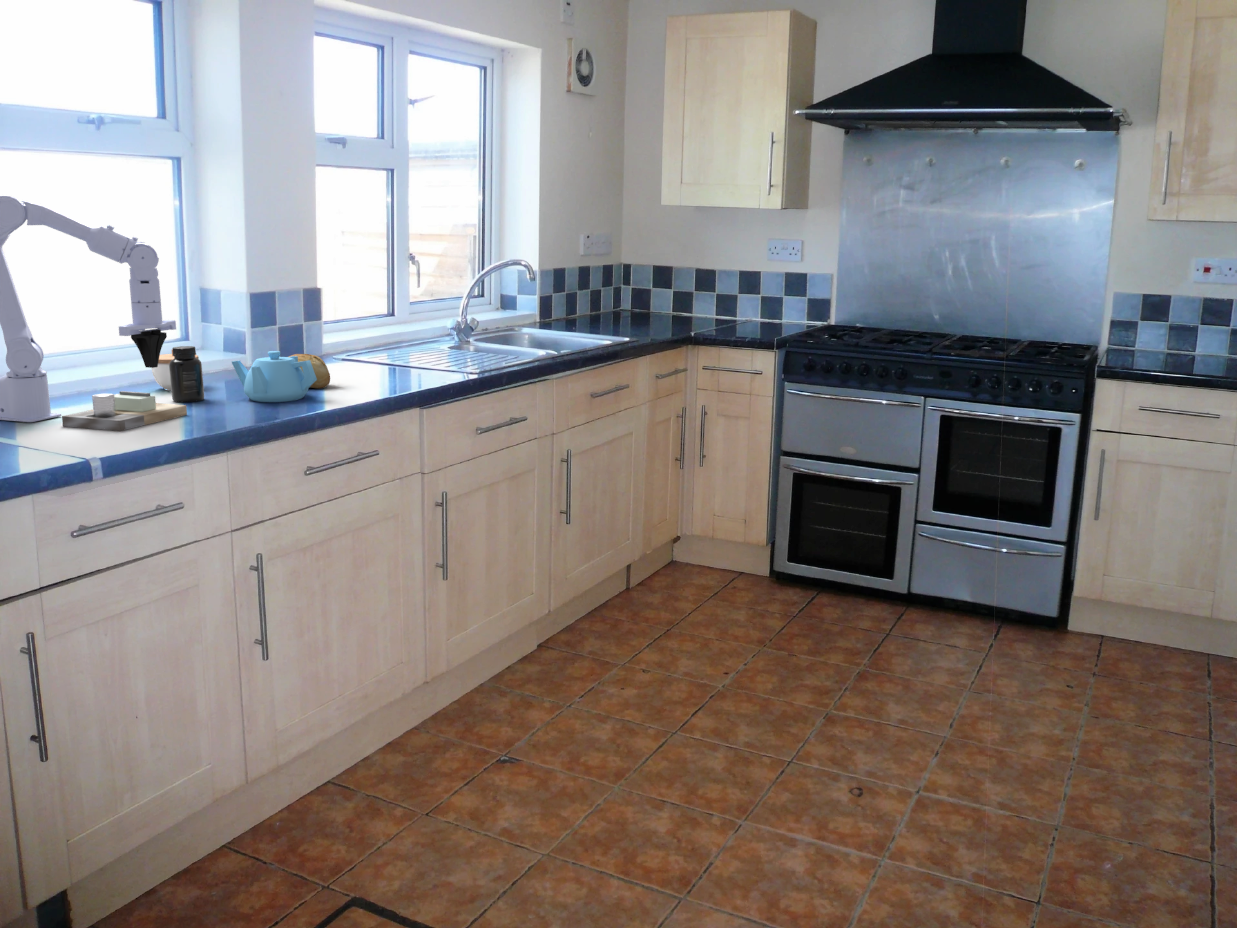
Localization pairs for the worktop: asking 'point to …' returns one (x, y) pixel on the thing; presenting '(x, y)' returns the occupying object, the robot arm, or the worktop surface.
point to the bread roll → (316, 370)
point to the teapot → (276, 378)
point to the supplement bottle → (186, 375)
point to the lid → (134, 401)
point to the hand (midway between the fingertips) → (151, 367)
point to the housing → (124, 418)
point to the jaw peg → (104, 405)
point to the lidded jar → (164, 370)
